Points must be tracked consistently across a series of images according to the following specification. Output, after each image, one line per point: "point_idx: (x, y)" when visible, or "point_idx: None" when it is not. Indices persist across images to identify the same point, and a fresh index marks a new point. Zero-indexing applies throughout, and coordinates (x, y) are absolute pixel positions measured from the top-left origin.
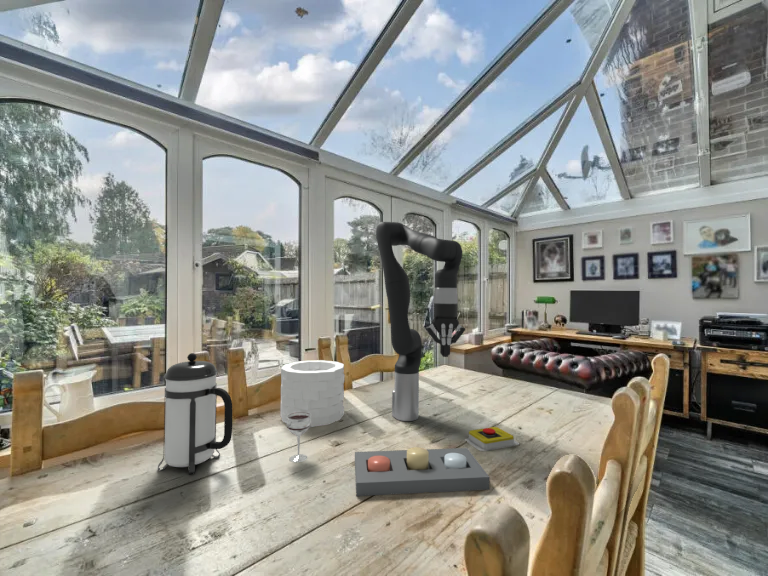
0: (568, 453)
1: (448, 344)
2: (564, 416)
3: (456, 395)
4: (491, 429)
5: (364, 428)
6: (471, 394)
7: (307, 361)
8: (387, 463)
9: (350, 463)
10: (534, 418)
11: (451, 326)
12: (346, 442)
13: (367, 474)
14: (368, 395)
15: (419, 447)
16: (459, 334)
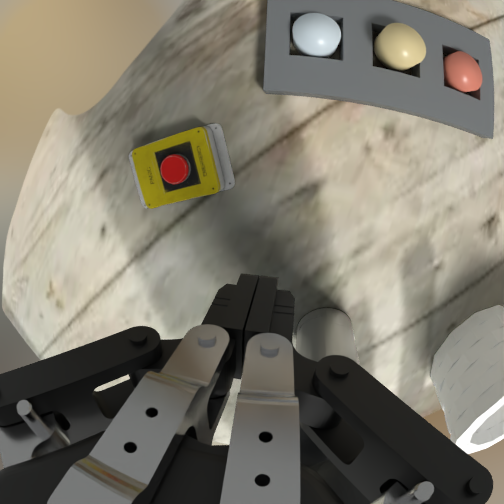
0: (76, 116)
1: (215, 330)
2: (38, 265)
3: None
4: (166, 173)
5: (431, 286)
6: None
7: (492, 442)
8: (454, 54)
9: (487, 138)
10: (72, 268)
11: (78, 500)
12: (478, 226)
13: (477, 52)
14: None
15: (397, 59)
16: (51, 372)
